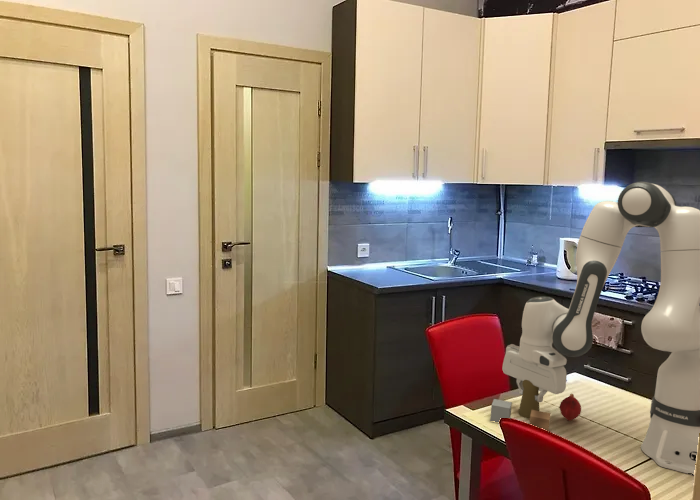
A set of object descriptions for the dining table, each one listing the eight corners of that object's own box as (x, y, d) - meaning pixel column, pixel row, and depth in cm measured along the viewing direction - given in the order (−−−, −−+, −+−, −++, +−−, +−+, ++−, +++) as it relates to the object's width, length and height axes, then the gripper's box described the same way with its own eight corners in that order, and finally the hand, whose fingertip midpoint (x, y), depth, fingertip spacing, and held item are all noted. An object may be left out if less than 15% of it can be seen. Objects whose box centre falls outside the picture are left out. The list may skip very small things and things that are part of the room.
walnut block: (548, 430, 164) (550, 413, 164) (547, 437, 160) (549, 419, 159) (529, 426, 166) (531, 409, 165) (528, 433, 161) (530, 416, 161)
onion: (581, 426, 168) (584, 399, 167) (560, 423, 169) (562, 396, 168) (577, 418, 174) (580, 391, 172) (557, 415, 175) (560, 389, 174)
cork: (542, 419, 171) (546, 382, 170) (521, 418, 171) (524, 381, 170) (536, 411, 177) (539, 375, 175) (515, 409, 177) (519, 374, 176)
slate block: (510, 418, 171) (511, 402, 170) (508, 425, 166) (509, 408, 165) (492, 415, 172) (494, 398, 172) (490, 421, 168) (491, 404, 167)
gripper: (500, 343, 178) (495, 387, 180) (557, 364, 161) (552, 412, 163) (514, 341, 182) (510, 384, 184) (571, 360, 165) (566, 408, 167)
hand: (530, 397), depth 173 cm, fingers closed on cork, 4 cm apart
